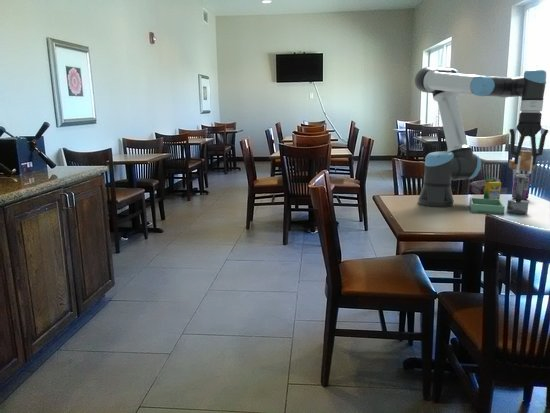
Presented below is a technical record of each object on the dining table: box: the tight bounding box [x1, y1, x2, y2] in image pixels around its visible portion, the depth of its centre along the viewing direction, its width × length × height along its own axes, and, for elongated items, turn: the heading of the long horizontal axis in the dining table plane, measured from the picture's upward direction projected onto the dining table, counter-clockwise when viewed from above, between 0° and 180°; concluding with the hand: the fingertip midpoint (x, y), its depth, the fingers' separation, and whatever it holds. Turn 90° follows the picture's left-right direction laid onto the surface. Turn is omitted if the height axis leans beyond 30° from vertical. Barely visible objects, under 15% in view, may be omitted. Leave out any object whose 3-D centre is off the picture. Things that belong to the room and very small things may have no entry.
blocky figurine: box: [506, 175, 529, 216], centre depth 189 cm, size 8×8×16 cm
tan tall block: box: [508, 149, 537, 172], centre depth 184 cm, size 8×13×8 cm, turn 160°
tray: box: [468, 197, 506, 215], centre depth 198 cm, size 12×17×3 cm
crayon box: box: [483, 176, 502, 200], centre depth 212 cm, size 7×3×12 cm, turn 114°
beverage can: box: [511, 173, 531, 201], centre depth 223 cm, size 7×7×12 cm
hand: (523, 172), depth 181 cm, fingers closed on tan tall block, 3 cm apart
